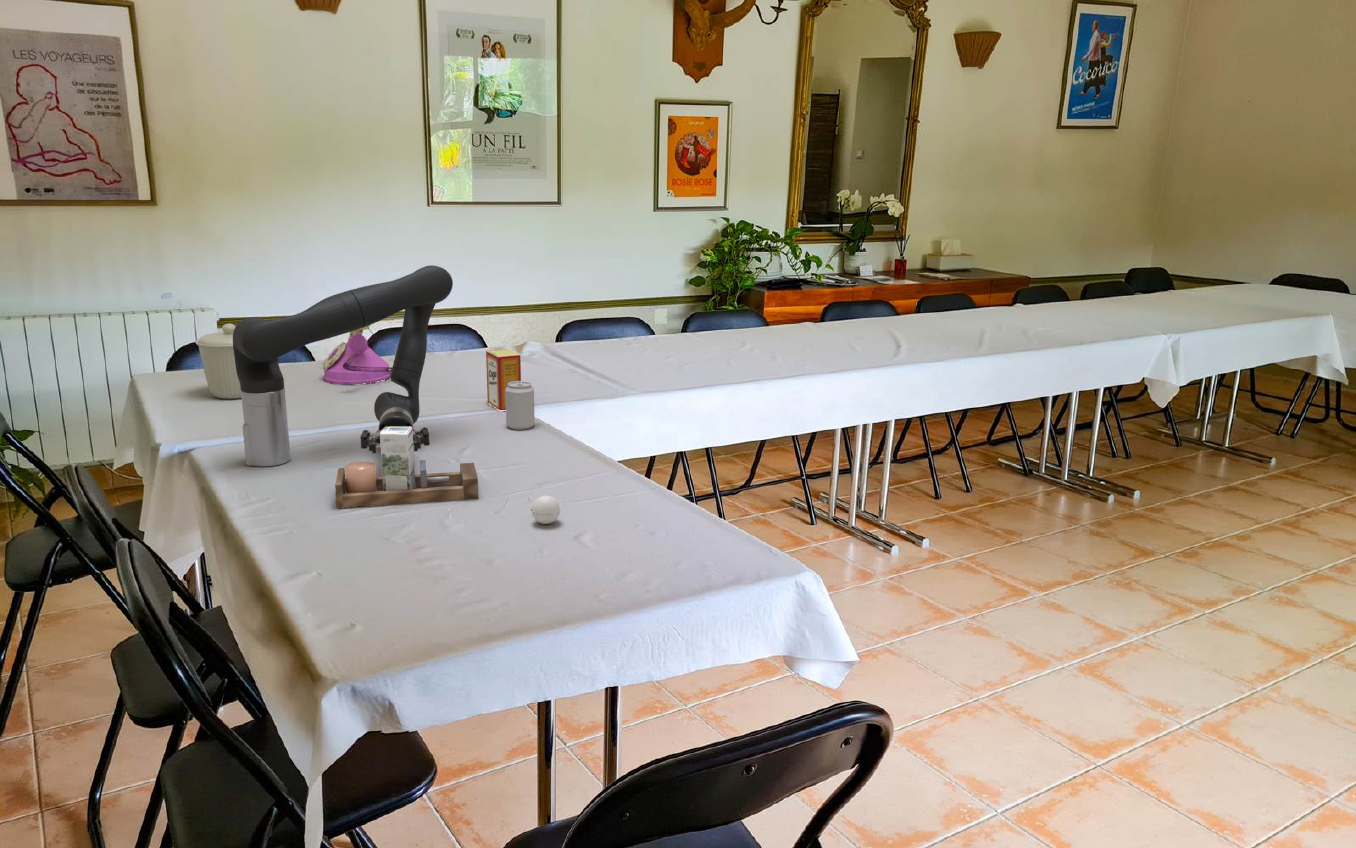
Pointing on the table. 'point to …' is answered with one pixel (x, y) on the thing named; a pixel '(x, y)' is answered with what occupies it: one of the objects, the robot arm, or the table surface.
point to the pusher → (428, 479)
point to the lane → (413, 490)
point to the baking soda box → (501, 375)
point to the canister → (220, 363)
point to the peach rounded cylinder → (360, 477)
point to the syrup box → (397, 458)
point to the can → (519, 405)
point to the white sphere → (545, 509)
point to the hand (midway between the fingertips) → (395, 447)
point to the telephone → (355, 362)
